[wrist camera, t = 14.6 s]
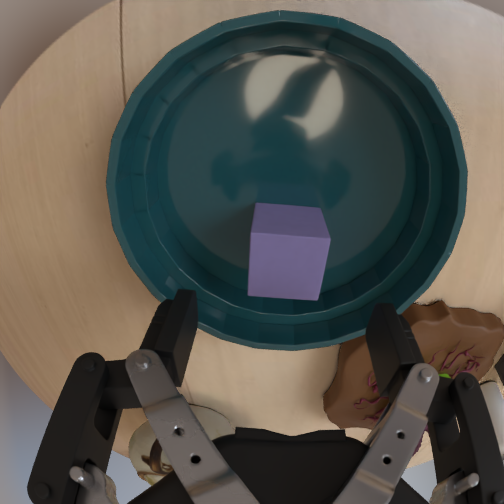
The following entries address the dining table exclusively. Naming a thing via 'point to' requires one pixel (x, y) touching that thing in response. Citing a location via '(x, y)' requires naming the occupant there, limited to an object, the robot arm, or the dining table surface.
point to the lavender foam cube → (287, 251)
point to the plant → (434, 353)
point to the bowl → (287, 173)
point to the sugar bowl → (151, 453)
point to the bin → (500, 369)
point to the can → (495, 410)
